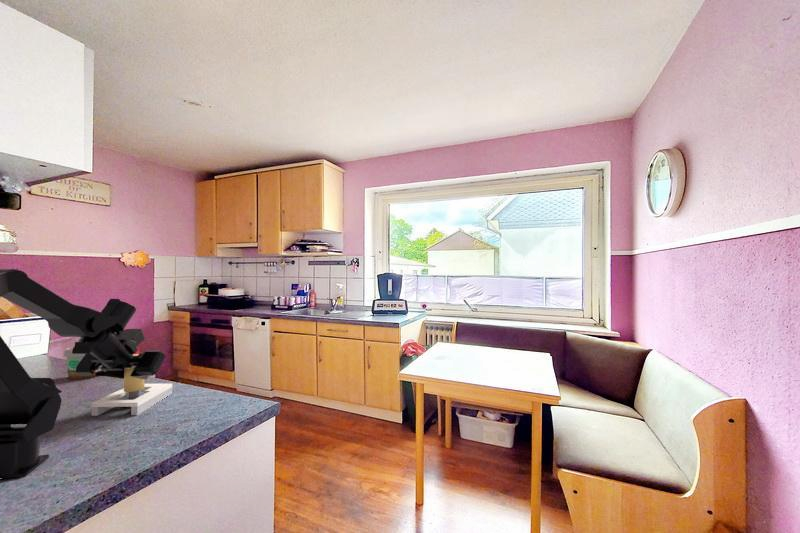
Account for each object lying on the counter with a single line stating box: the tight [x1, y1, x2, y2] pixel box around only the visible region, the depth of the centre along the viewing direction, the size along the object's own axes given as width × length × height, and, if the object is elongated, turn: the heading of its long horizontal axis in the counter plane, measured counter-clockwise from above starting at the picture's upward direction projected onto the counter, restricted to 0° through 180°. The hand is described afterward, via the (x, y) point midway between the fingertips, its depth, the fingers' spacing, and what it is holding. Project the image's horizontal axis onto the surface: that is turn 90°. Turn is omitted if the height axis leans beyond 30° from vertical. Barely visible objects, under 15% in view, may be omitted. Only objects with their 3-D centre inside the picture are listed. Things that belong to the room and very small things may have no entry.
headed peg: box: [123, 353, 146, 400], centre depth 89 cm, size 4×4×13 cm
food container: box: [63, 347, 98, 381], centre depth 109 cm, size 12×6×10 cm, turn 105°
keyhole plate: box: [91, 383, 173, 417], centre depth 89 cm, size 14×11×3 cm
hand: (138, 377), depth 90 cm, fingers closed on headed peg, 4 cm apart
